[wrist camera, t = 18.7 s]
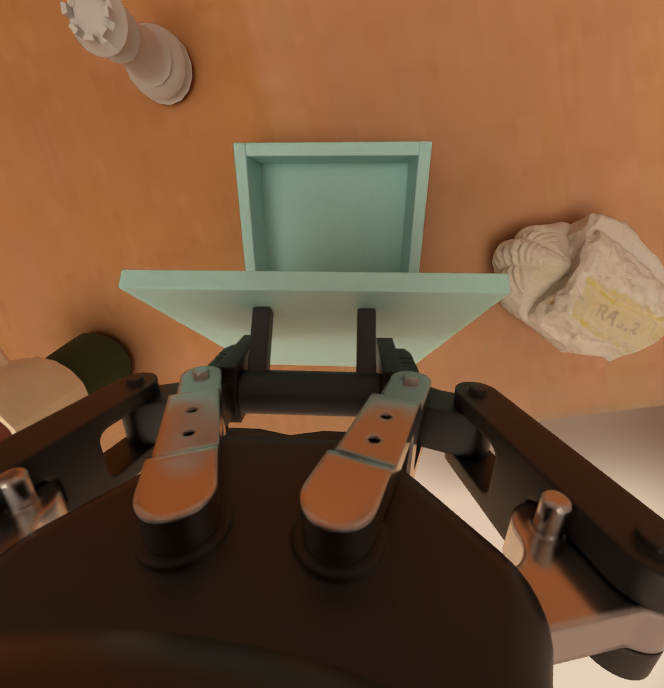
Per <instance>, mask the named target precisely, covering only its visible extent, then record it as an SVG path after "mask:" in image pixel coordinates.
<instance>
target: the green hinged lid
mask: <svg viewBox="0 0 664 688" xmlns="http://www.w3.org/2000/svg"><path fill="white" fill-rule="evenodd" d="M119 288H120V289H121V290H123V291H125V292H127V293H128V294H130V295H132V296H134V297H136V298H137V299H139V300H141V301H143V302H144V303H146V304H148V305H150V306H151V307H153V308H155V309H157V310H158V311H160V312H162V313H164V314H165V315H167V316H169V317H171V318H172V319H174V320H176V321H178V322H179V323H181V324H183V325H185V326H186V327H188V328H190V329H192V330H194V331H195V332H197V333H199V334H201V335H202V336H204V337H206V338H208V339H209V340H211V341H213V342H215V343H216V344H218V345H220V346H222V347H223V348H227V347H229V346H231V345H235V344H236V343H237V342H238V341H239V340H240V339H241V338H242V337H243V336H244V335H250V346H249V357H248V369H247V370H244V371H243V372H242V374H241V376H240V379H239V383H238V391H237V400H238V406H239V409H240V411H241V412H242V413H250V414H283V415H316V416H349V417H357V415H358V414H359V412H360V411H361V409H362V408H363V406H364V405H365V403H366V401H367V400H368V398H369V397H370V395H371V394H372V393H378V394H381V393H382V390H381V377H380V374H379V373H376V338H392V339H393V341H394V344H395V347H396V348H400V349H405V350H407V351H408V352H410V353H411V355H412V357H413V360H414V362H415V364H416V363H418V362H419V361H420V360H422V359H423V358H424V357H426V356H427V355H428V354H430V353H431V352H432V351H434V350H435V349H436V348H438V347H439V346H440V345H442V344H443V343H444V342H446V341H447V340H448V339H450V338H451V337H452V336H454V335H455V334H456V333H458V332H459V331H460V330H462V329H463V328H464V327H466V326H467V325H468V324H470V323H471V322H472V321H474V320H475V319H476V318H478V317H479V316H480V315H482V314H483V313H484V312H486V311H487V310H488V309H489V308H491V307H492V306H493V305H495V304H496V303H497V302H499V301H500V300H501V299H503V298H504V297H505V296H507V295H508V294H509V293H510V283H509V274H497V273H401V272H305V271H209V270H122V271H121V275H120V281H119ZM270 364H271V365H314V366H356V372H326V371H284V370H270Z"/></svg>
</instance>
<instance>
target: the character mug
mask: <svg viewBox="0 0 664 688" xmlns="http://www.w3.org/2000/svg"><path fill="white" fill-rule="evenodd" d="M130 374H131V359H130V358H129V356H128V354H127V353H126V351H125V349H124V348H123V347H122V346H121V345H120V344H118V343H117V342H115V341H114V340H113V339H111V338H109V337H106V336H103V335H99V334H96V333H91V334H81V335H79V336H78V337H76V338H74V339H73V340H71V341H69V342H68V343H66V344H65V345H64V346H62V347H61V348H59V349H58V350H56V351H55V352H53V353H52V354H51V355H49V356H48V357H46V358H40V357H34V358H26V359H17V360H12V361H10V360H9V358H8V357H7V356H6V354H5V353H4V352H3V350H2V349H1V348H0V441H1V440H3V439H5V438H7V437H9V436H11V435H12V434H14V433H16V432H18V431H20V430H22V429H24V428H26V427H28V426H30V425H32V424H34V423H36V422H38V421H39V420H41V419H43V418H45V417H47V416H49V415H51V414H53V413H55V412H57V411H59V410H61V409H63V408H64V407H66V406H68V405H70V404H72V403H74V402H76V401H78V400H80V399H82V398H84V397H86V396H88V395H90V394H91V393H93V392H95V391H97V390H99V389H101V388H103V387H105V386H107V385H109V384H111V383H113V382H115V381H117V380H118V379H120V378H123V377H125V376H128V375H130Z"/></svg>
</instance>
